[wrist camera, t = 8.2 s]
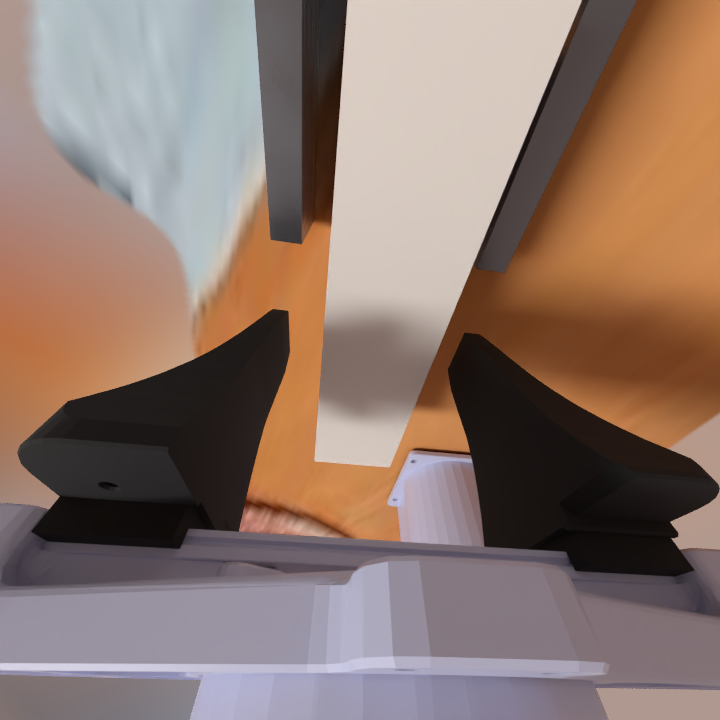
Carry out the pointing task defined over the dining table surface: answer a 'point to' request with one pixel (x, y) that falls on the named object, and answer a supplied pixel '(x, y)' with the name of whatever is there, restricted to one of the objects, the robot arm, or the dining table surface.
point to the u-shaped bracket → (299, 117)
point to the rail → (418, 192)
